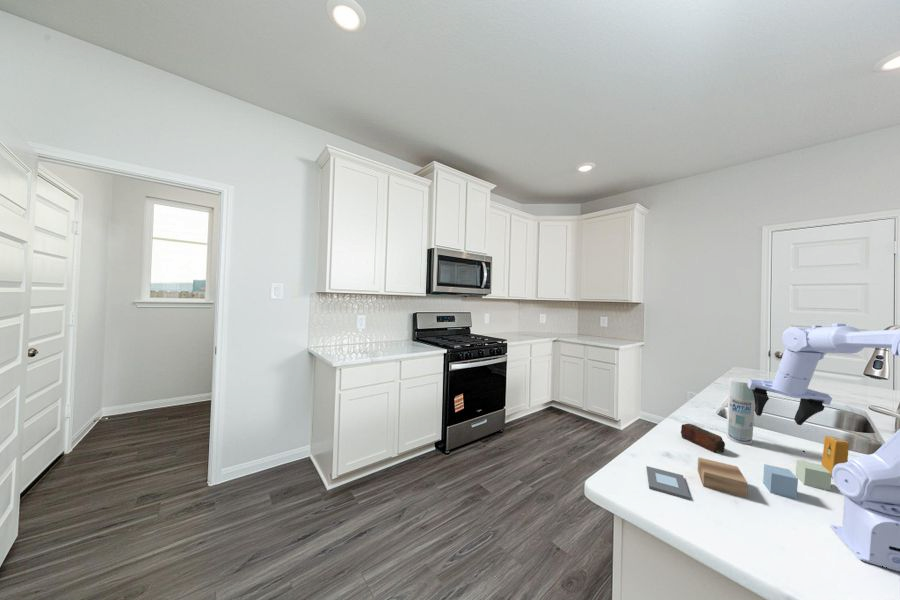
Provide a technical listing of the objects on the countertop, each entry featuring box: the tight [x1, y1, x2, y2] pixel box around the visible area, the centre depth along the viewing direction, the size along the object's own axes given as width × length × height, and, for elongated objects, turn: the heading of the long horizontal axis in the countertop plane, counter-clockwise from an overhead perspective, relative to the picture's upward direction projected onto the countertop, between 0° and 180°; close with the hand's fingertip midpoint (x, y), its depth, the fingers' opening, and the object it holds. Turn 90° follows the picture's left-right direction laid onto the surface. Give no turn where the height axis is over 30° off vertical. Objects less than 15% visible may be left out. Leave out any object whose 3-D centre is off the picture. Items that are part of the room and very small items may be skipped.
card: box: [646, 465, 691, 501], centre depth 78 cm, size 10×8×1 cm
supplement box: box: [821, 435, 850, 479], centre depth 83 cm, size 3×3×10 cm
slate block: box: [762, 463, 799, 500], centre depth 76 cm, size 4×4×5 cm
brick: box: [680, 423, 726, 454], centre depth 99 cm, size 11×4×5 cm, turn 19°
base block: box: [697, 457, 749, 499], centre depth 78 cm, size 8×8×4 cm
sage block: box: [795, 459, 832, 492], centre depth 79 cm, size 4×4×4 cm
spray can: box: [725, 376, 755, 445], centre depth 102 cm, size 6×6×20 cm
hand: (777, 417), depth 81 cm, fingers open, 7 cm apart
